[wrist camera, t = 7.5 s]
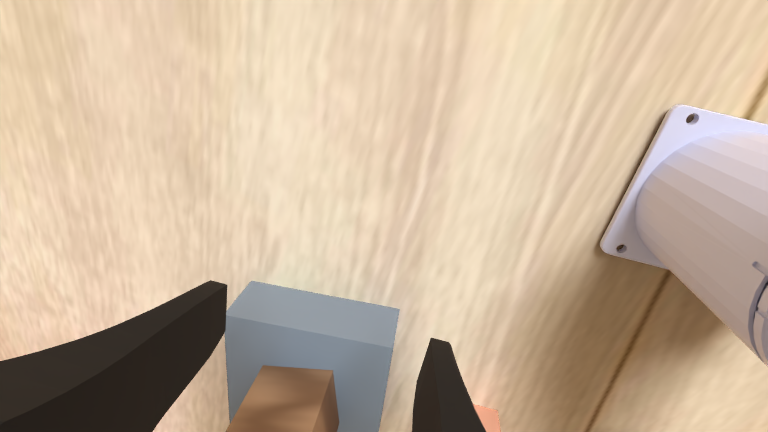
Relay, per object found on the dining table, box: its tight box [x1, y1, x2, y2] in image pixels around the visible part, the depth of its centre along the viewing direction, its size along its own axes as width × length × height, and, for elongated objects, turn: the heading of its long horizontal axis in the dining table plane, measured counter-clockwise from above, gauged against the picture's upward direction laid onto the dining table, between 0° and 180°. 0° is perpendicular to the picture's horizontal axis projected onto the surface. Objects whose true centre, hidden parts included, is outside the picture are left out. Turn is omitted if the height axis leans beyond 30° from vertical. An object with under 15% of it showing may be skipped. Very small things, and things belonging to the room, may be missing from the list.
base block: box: [225, 281, 399, 432], centre depth 26 cm, size 10×10×4 cm
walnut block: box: [226, 365, 339, 432], centre depth 22 cm, size 4×4×5 cm
